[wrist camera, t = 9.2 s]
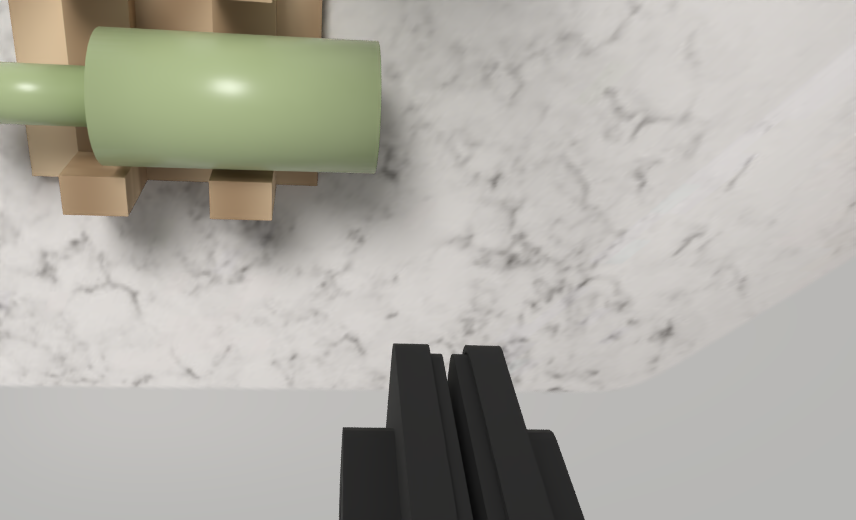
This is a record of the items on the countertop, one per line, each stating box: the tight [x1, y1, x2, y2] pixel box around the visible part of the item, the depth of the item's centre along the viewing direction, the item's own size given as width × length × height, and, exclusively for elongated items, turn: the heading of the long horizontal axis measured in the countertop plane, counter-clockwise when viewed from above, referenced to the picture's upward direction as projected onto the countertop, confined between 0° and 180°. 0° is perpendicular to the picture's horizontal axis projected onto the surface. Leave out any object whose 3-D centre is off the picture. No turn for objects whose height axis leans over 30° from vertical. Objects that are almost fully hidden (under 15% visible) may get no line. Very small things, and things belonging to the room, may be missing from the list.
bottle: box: [0, 26, 381, 174], centre depth 30 cm, size 5×5×16 cm
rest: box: [8, 0, 322, 221], centre depth 31 cm, size 12×10×5 cm
